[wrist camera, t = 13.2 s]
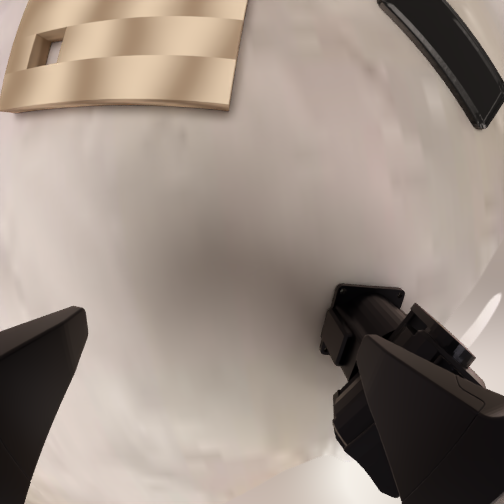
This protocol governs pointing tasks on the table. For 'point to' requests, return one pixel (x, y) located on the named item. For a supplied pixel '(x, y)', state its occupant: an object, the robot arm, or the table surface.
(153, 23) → the board
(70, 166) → the table surface
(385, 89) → the table surface
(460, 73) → the phone
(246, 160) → the table surface
